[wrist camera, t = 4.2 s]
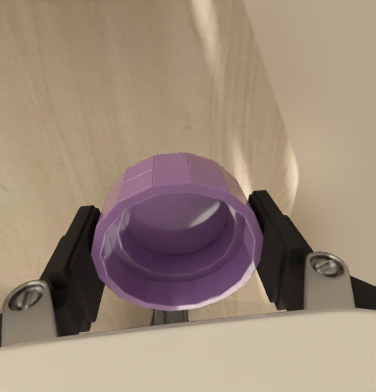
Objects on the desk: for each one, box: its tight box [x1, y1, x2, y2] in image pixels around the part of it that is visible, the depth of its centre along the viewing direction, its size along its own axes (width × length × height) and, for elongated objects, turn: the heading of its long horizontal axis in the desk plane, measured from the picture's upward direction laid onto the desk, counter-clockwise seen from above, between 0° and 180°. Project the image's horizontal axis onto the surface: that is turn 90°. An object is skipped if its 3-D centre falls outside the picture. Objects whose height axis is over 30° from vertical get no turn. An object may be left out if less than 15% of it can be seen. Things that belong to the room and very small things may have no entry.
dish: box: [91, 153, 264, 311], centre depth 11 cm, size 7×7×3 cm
